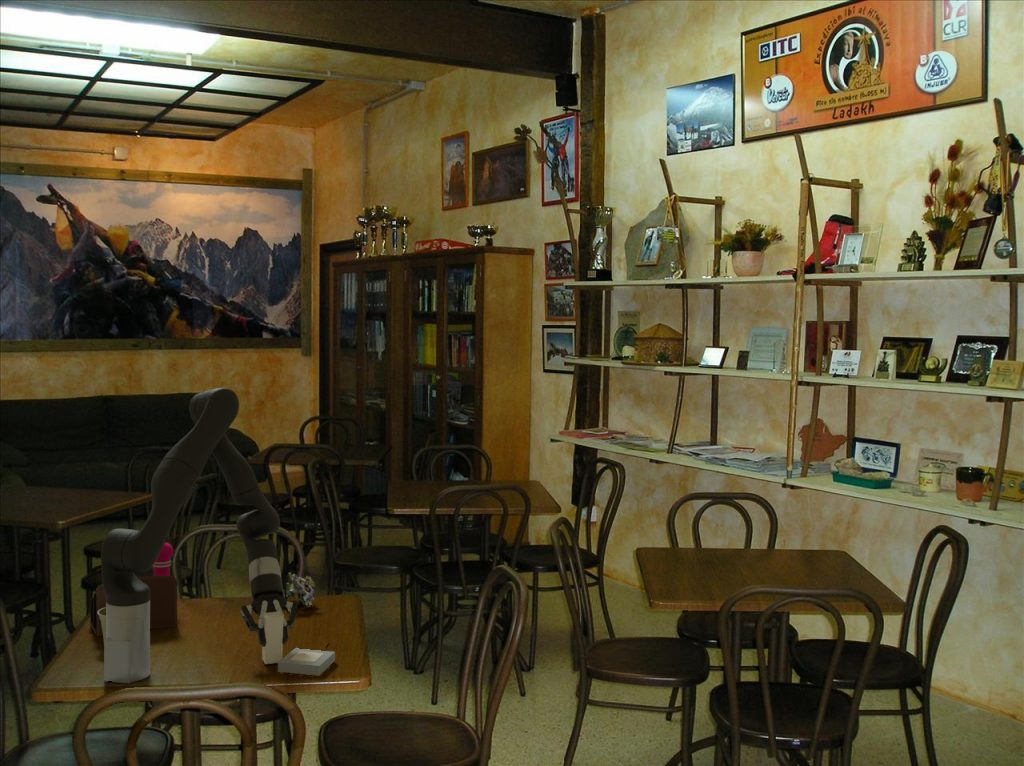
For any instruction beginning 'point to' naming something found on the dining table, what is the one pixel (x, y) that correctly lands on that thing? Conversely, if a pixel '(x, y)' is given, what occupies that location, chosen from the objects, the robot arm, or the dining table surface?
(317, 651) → the slab
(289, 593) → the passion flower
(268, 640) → the pillar
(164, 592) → the letter holder
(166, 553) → the pepper mill
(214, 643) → the dining table surface
